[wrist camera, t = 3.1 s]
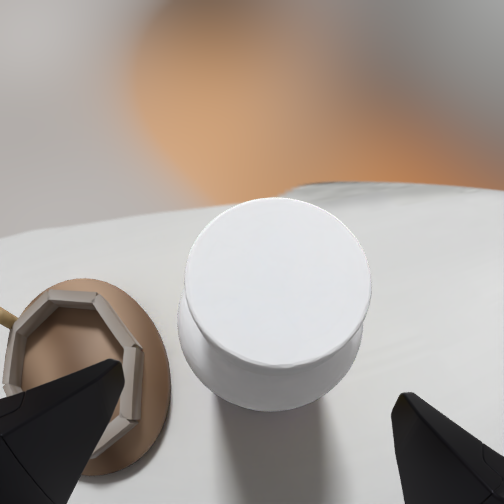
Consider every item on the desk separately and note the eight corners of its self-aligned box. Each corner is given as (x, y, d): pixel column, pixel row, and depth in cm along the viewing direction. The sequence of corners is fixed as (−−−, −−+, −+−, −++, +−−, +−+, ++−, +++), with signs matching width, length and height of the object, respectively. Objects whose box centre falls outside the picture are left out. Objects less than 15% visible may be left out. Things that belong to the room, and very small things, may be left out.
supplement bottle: (200, 397, 17) (105, 368, 6) (224, 304, 20) (189, 159, 9) (305, 417, 16) (399, 425, 5) (320, 321, 19) (398, 193, 8)
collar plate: (75, 504, 12) (46, 514, 8) (-9, 352, 17) (-37, 339, 14) (218, 392, 17) (209, 388, 14) (98, 249, 22) (78, 222, 19)
